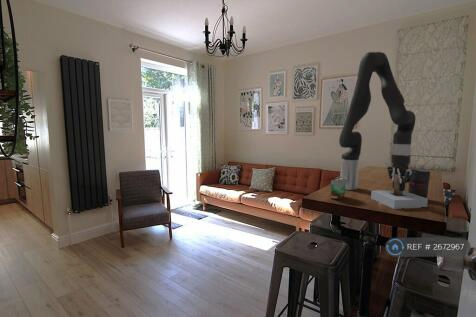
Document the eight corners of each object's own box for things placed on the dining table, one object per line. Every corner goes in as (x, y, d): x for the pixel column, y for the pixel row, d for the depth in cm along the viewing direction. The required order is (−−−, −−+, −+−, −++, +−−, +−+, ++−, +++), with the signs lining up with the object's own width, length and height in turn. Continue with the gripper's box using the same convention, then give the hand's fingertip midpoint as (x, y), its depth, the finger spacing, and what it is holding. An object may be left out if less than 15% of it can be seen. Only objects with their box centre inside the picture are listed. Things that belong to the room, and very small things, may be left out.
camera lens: (419, 202, 118) (421, 171, 116) (403, 197, 126) (406, 168, 124) (431, 200, 120) (434, 170, 118) (415, 196, 128) (418, 168, 126)
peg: (391, 194, 119) (393, 173, 118) (398, 194, 119) (400, 173, 118) (397, 196, 115) (398, 175, 114) (404, 196, 116) (405, 175, 114)
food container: (342, 201, 120) (343, 181, 118) (330, 199, 123) (330, 180, 122) (349, 196, 129) (350, 177, 128) (337, 194, 133) (337, 176, 132)
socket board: (371, 198, 125) (371, 190, 124) (400, 197, 127) (400, 189, 126) (393, 208, 109) (394, 200, 109) (427, 207, 111) (427, 198, 110)
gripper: (383, 152, 121) (380, 186, 123) (405, 155, 107) (402, 194, 110) (397, 152, 122) (394, 186, 124) (421, 155, 108) (417, 193, 110)
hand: (398, 189), depth 117 cm, fingers closed on peg, 3 cm apart
